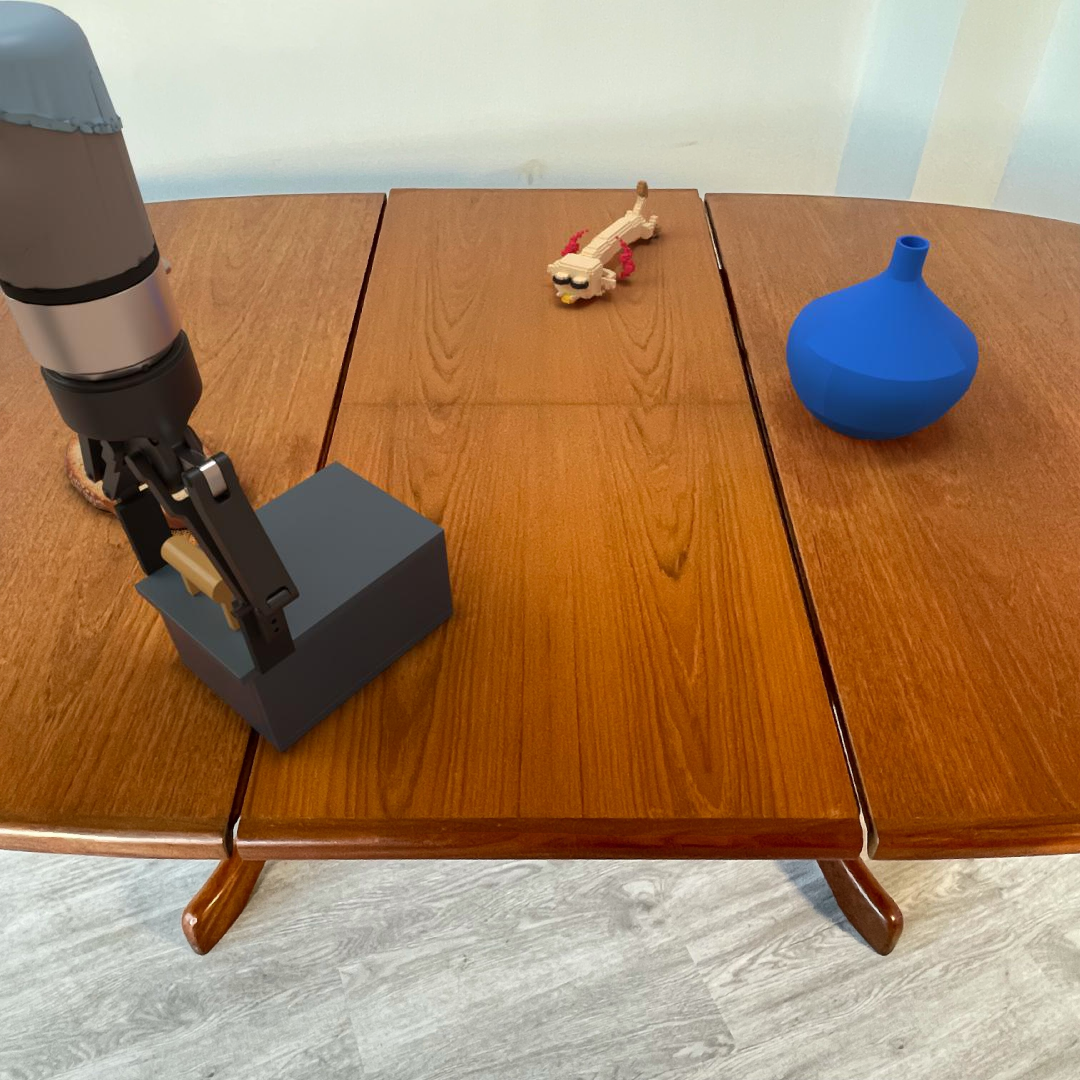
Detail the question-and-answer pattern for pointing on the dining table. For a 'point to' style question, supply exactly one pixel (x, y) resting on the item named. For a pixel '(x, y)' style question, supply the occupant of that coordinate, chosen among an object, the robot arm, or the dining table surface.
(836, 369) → the vase
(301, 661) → the chest
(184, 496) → the bread slice
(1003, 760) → the dining table surface
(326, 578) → the chest lid
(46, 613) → the dining table surface
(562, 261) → the cream long figure
